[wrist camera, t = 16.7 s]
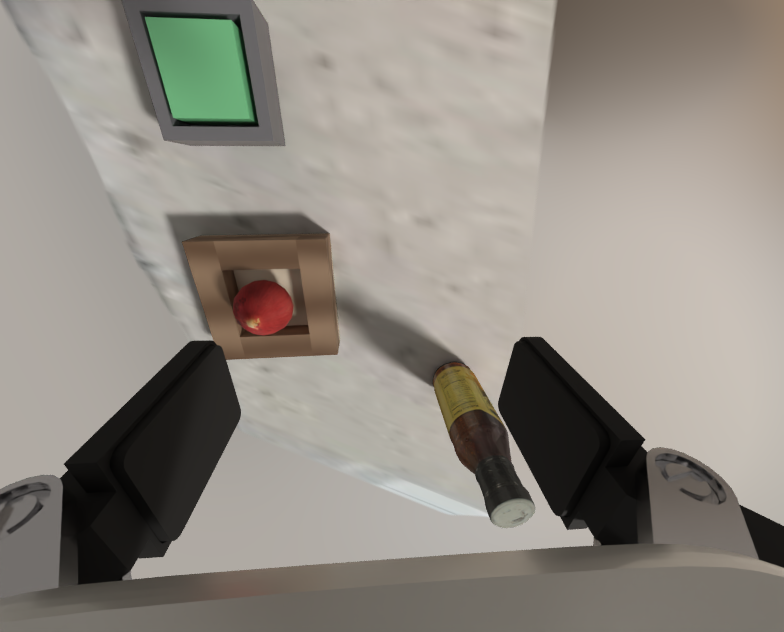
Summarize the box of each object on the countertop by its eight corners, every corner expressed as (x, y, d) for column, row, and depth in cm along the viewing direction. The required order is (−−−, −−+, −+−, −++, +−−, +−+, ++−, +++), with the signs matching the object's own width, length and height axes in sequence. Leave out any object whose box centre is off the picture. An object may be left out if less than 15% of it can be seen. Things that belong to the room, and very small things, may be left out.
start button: (170, 36, 23) (144, 17, 20) (247, 38, 23) (231, 20, 21) (193, 124, 25) (173, 117, 23) (261, 125, 26) (249, 118, 23)
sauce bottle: (470, 390, 44) (541, 535, 26) (430, 394, 43) (475, 543, 26) (473, 355, 41) (556, 491, 23) (431, 359, 41) (481, 499, 23)
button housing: (156, 19, 23) (118, -10, 20) (267, 23, 24) (250, -4, 20) (190, 145, 27) (163, 140, 24) (285, 146, 28) (273, 141, 24)
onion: (258, 320, 35) (229, 356, 28) (241, 275, 32) (205, 302, 25) (305, 313, 35) (288, 347, 28) (291, 268, 32) (270, 292, 25)
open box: (200, 235, 31) (181, 241, 28) (329, 233, 32) (325, 239, 29) (232, 344, 37) (219, 359, 34) (339, 340, 38) (337, 354, 35)
